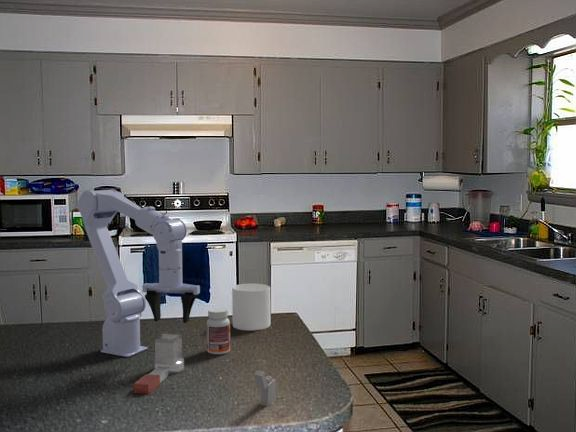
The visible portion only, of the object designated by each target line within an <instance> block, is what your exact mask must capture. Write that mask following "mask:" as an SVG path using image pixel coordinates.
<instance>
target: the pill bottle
mask: <svg viewBox="0 0 576 432" xmlns="http://www.w3.org/2000/svg"><path fill="white" fill-rule="evenodd" d="M228 312H229V311H228V308H226V307H211V308H209V309H208V310H207V317H208V319H207V321H206V350H207V353H208V354H211V355H224V354H227V353H230V352H231V322H230V321H231V320H230V319H229V318H228V316H229V315H228V314H229V313H228Z"/></svg>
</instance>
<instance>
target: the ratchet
mask: <svg viewBox="0 0 576 432" xmlns="http://www.w3.org/2000/svg"><path fill="white" fill-rule="evenodd" d="M183 371H185V358H184V357H182V359H181V360H180V361H178V362H177V363H176V364H175V365H168V364H155V363H154V369H153V370H152V371H151V372H149V373H145V374H144V375H143V376H141V377H140V378H139V379H138V380H137V381H135V382H134V383H133V393H134V394H143V395H144V394H145V395H149V394H151V393H152V392H153V391H154V390H155V389H156V388H158V387H159V386H160V385H161V383H162V382H163V381H164V380H165V379H166V378H167V377H169V376H170V375H175V374H179V373H181V372H183Z"/></svg>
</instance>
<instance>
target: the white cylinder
mask: <svg viewBox="0 0 576 432" xmlns="http://www.w3.org/2000/svg"><path fill="white" fill-rule="evenodd" d="M231 291H232V292H231V294H232V295H231V299H232V301H231V302H232V303H231V304H232V305H231V306H232V307H231V309H232V317H231V318H232V327H233V328H234V329H236V330H240V331H249V332H250V331H253V332H254V331H261V330H265V329H268V328H270V326H271V286H270V285H268V284H264V283H242V284H241V283H240V284H236V285H233V286H232V288H231Z"/></svg>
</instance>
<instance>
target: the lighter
mask: <svg viewBox="0 0 576 432" xmlns="http://www.w3.org/2000/svg"><path fill="white" fill-rule="evenodd" d="M253 377H254V382H255V385H256V388H257V390H258V391H260V406H265V407H268V406H270V405H271V404H272V403H273V402H275V401H276V399H277V384H276V382H277V379H275V378H273V376H271V375H267V376H266V375H265V371H264V370H260V369H259V370H255V373H254V374H253Z"/></svg>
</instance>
